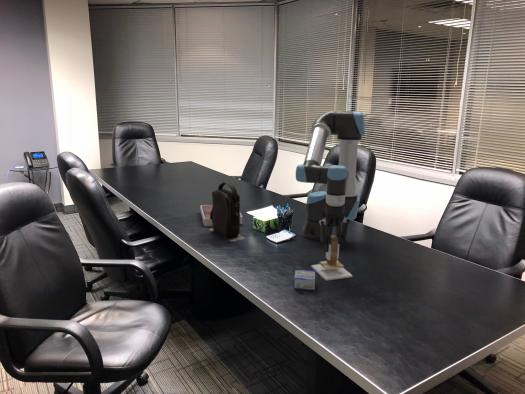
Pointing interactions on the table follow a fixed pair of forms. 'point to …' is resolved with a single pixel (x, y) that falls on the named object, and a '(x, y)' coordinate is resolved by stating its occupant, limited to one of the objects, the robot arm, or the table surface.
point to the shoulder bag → (226, 213)
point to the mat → (331, 273)
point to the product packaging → (206, 215)
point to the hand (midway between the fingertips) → (332, 258)
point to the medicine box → (304, 280)
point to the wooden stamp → (332, 256)
